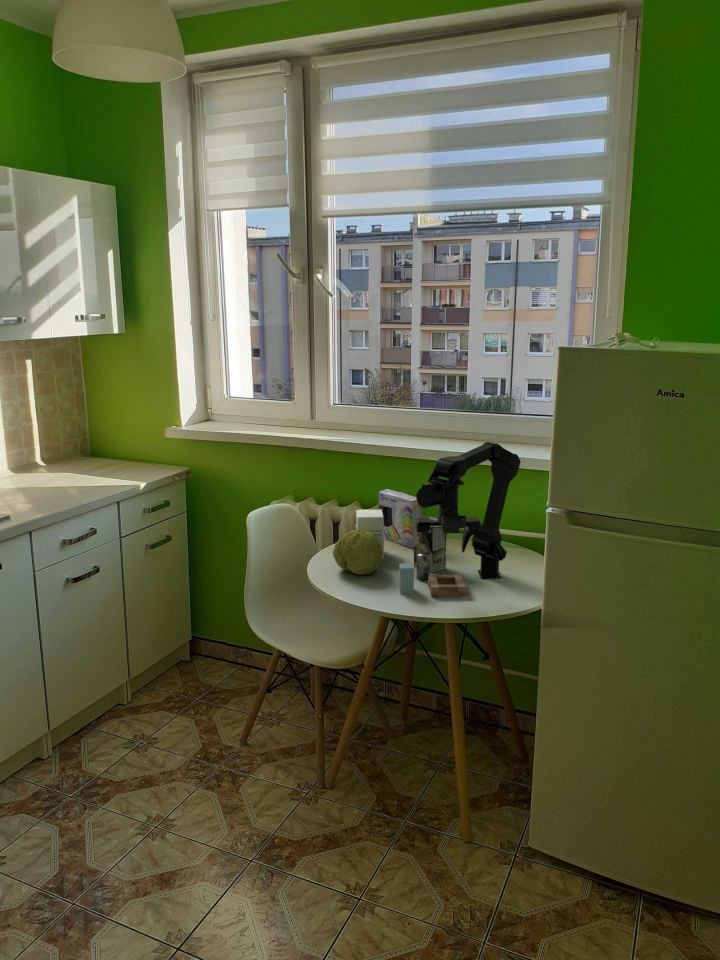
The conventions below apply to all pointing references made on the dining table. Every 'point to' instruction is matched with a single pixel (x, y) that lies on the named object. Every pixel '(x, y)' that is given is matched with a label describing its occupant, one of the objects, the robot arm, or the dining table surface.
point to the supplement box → (372, 523)
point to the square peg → (406, 578)
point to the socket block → (446, 586)
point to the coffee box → (437, 542)
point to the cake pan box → (399, 516)
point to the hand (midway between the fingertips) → (447, 552)
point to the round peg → (423, 566)
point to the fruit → (358, 552)
